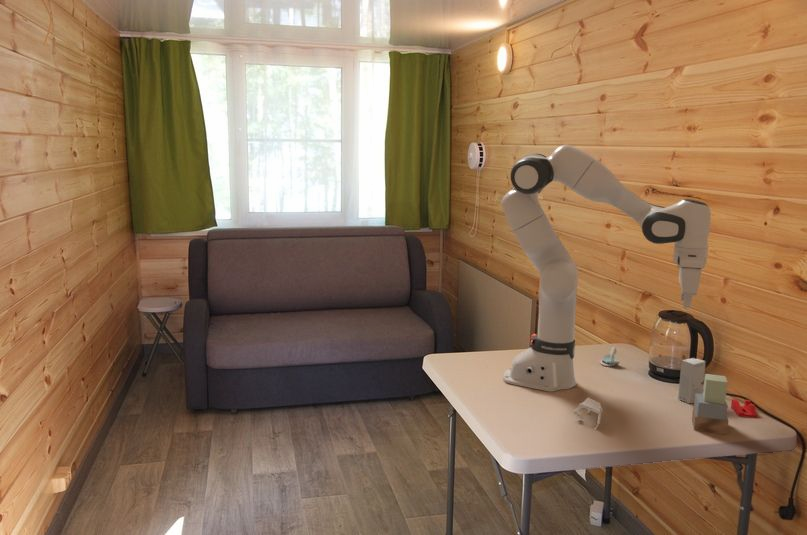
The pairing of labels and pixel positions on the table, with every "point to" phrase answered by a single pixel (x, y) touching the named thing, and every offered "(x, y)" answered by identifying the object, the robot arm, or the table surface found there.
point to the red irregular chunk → (744, 409)
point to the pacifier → (610, 358)
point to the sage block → (715, 388)
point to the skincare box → (691, 379)
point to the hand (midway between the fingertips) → (685, 304)
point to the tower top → (709, 408)
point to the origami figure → (591, 406)
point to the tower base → (709, 424)
